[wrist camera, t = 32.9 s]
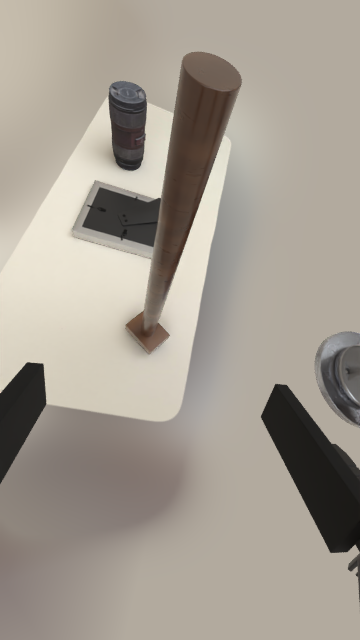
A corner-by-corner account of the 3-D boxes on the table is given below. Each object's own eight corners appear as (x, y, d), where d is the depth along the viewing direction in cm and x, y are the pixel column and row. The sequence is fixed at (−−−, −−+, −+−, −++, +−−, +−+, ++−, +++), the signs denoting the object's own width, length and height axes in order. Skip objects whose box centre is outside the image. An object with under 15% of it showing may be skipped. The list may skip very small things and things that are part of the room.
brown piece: (167, 340, 47) (305, 106, 10) (149, 356, 45) (236, 142, 8) (144, 315, 47) (194, 15, 11) (125, 330, 46) (108, 29, 9)
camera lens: (139, 150, 64) (142, 80, 50) (146, 172, 61) (151, 105, 48) (110, 150, 61) (104, 77, 48) (116, 172, 59) (112, 102, 45)
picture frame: (177, 212, 59) (96, 187, 56) (179, 204, 56) (94, 177, 54) (164, 262, 53) (73, 237, 50) (166, 255, 50) (70, 227, 48)
